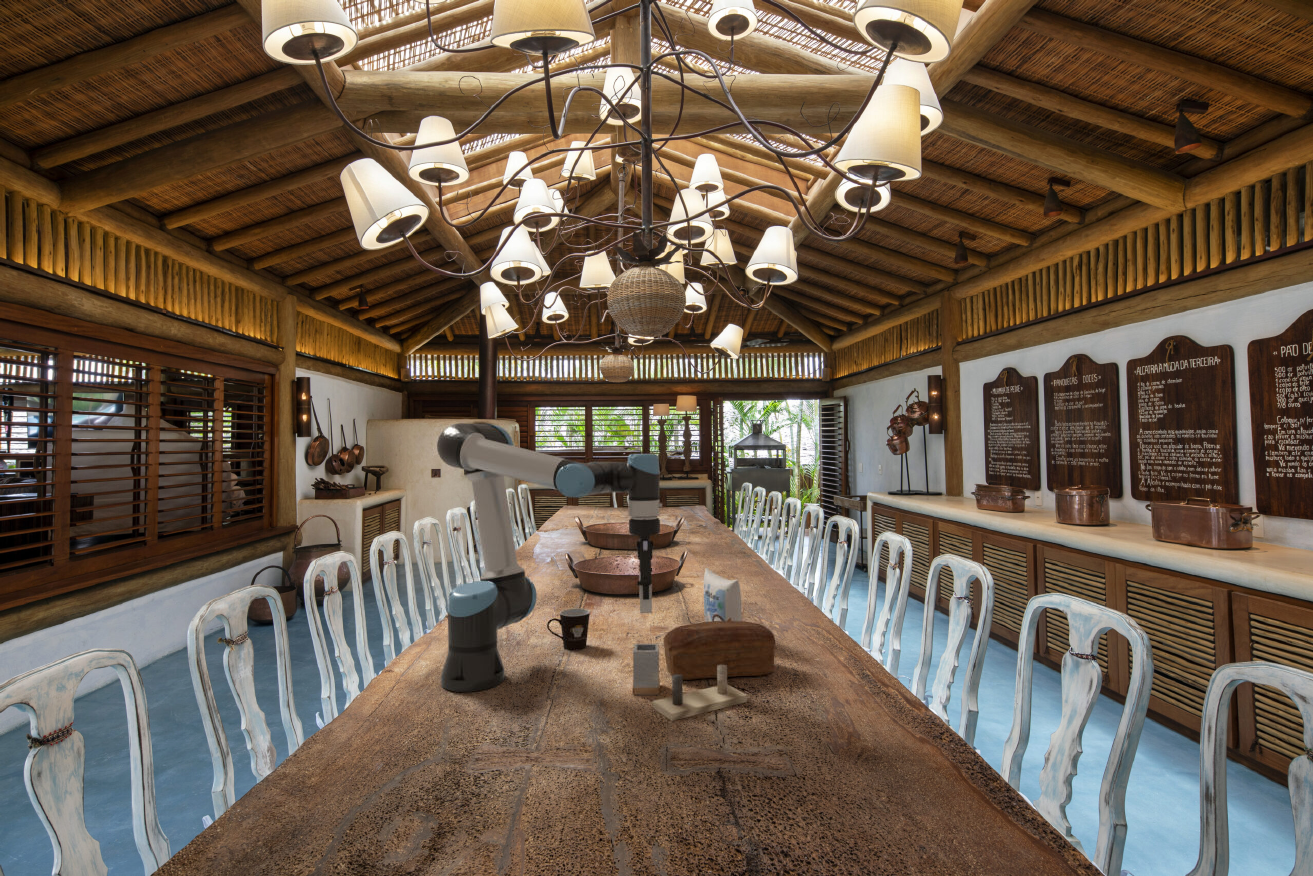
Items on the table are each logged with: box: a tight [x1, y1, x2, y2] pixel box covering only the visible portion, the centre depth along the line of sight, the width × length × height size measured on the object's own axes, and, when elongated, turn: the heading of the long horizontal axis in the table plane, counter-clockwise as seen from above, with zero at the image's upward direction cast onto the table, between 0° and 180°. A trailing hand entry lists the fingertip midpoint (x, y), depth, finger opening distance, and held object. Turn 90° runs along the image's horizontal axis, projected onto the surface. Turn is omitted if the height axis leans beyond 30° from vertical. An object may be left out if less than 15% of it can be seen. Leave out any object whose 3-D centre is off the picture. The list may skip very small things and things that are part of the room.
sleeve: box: [631, 643, 661, 696], centre depth 155 cm, size 6×6×10 cm
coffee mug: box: [546, 608, 591, 652], centre depth 188 cm, size 12×9×10 cm
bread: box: [663, 620, 776, 681], centre depth 167 cm, size 14×28×12 cm, turn 99°
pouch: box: [703, 567, 743, 622], centre depth 193 cm, size 8×19×20 cm, turn 20°
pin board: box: [652, 665, 748, 722], centre depth 146 cm, size 20×8×8 cm, turn 120°
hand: (645, 605), depth 157 cm, fingers open, 13 cm apart
